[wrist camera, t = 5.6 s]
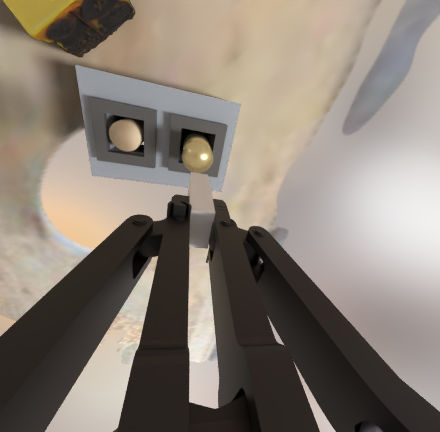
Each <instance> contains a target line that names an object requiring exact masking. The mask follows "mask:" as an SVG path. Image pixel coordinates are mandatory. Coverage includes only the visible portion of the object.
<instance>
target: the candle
mask: <svg viewBox="0 0 440 432" xmlns="http://www.w3.org/2000/svg"><path fill="white" fill-rule="evenodd" d="M3 1H4V3H5V4H6V5H7V7H8V8H9V9H10V11H11V12H12V13H13V15H14V16H15V17H16V18H17V20H18V21H19V22H20V24H21V25H22V26H23V28H24V29H25V30H26V32H27V33H28V34H29V35H30V36H31V37H33V38H35V39H37V40H44V41H46V42H48V43H50V42H54V43H57V44H58V45H60V47H61V48H63V49H64V50H65V51H66V52H68V53H72V54H74V55H76V56H78V57H83V55H84V53H87V52H89V51H90V50H91V49H93V48H96V47H97V45H98V44H99V43H101V42H103V41H104V40H106V38H107V37H108V36H109V35H112V34H113V32H115V31H117V29H118V28H119V27H120V26H121V25H122V24H123V23H124V22H125V21H127V20H129V19H132V18H133V16H134V15H135V10H134V7H133V6H132V4H131V3H130V0H3Z"/></svg>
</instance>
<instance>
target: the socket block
mask: <svg viewBox="0 0 440 432" xmlns="http://www.w3.org/2000/svg"><path fill="white" fill-rule="evenodd" d="M75 68H76V75H77V81H78V87H79V94H80V100H81V107H82V113H83V120H84V126H85V133H86V139H87V146H88V152H89V158H90V165H91V171H92V176H100V177H108V178H115V179H123V180H132V181H139V182H147V183H155V184H163V185H171V186H179V187H187V188H189V182H190V175H191V171H190V170H188V169H187V168H186V167H185V165H184V163H183V160H182V154H183V152H182V151H180V149H181V137H182V128H185V129H190V130H195V131H200V132H205V133H210V138H209V145H210V148H211V150H212V152H213V163H212V165H211V167H210V168H209V169H208V170H207V171H205V172H202V173H201V174H207V175H208V177H209V182H210V188H211V191H218V192H222V188H223V183H224V178H225V174H226V169H227V165H228V160H229V156H230V151H231V147H232V142H233V138H234V133H235V129H236V124H237V120H238V115H239V111H240V106H241V104H239V103H235V102H230V101H226V100H222V99H218V98H213V97H209V96H205V95H201V94H197V93H192V92H188V91H184V90H180V89H176V88H171V87H167V86H163V85H159V84H155V83H150V82H146V81H142V80H138V79H133V78H129V77H125V76H121V75H117V74H112V73H108V72H104V71H100V70H96V69H91V68H87V67H83V66H79V65H75ZM121 116H123V117H128V118H133V119H138V120H143V121H144V145H140V146H139V147H138V148H137V149H135V150H133V151H123V150H120V149H119V148H117V147H116V146H115V145H114V144H113V143H112V141H111V139H110V136H109V129H110V127H111V125H112V124H113V123H114V122H117V121H119V120H121Z"/></svg>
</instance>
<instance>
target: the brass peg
mask: <svg viewBox="0 0 440 432" xmlns="http://www.w3.org/2000/svg"><path fill="white" fill-rule="evenodd" d="M182 160H183V163H184V165H185V167H186V168H187V169H188V170H190V171H191V172H195V173H202V172H205V171H207V170H208V169H209V168H210V167H211V165H212V163H213V152H212V150H211V148H210V145H209V143H208V140H207V138H206V137H205V136H204V135H203V134H201V133H198V132H193V133H190V134H189V135H188V136H187V137H186V138H185V140H184V145H183V154H182Z"/></svg>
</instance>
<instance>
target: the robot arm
mask: <svg viewBox="0 0 440 432" xmlns="http://www.w3.org/2000/svg"><path fill="white" fill-rule="evenodd" d="M208 244H209V251H208V256H207V260H206V263H208V260H209V270H210V281H211V292H212V303H213V313H214V324H215V335H216V346H217V357H218V368H219V390H218V407H219V408H217V409H213V408H209V407H205V406H201V405H197V404H194V403H190V402H189V348H188V291H189V247H196V248H208ZM155 256H158V260H157V265H156V270H155V274H154V279H153V284H152V288H151V293H150V298H149V302H148V307H147V312H146V316H145V321H144V325H143V330H142V335H141V339H140V344H139V347H138V349H137V351H136V353H135V356H134V360H133V364H132V368H131V372H130V377H129V381H128V386H127V391H126V395H125V400H124V404H123V408H122V412H121V417H120V421H119V426H118V428H117V429H116V430H115V431H113V432H320V431H319V428H318V425H317V423H316V420H315V418H314V415H313V412H312V410H311V407H310V404H309V402H308V399H307V396H306V394H305V391H304V388H303V386H302V383H301V380H300V378H299V375H298V372H297V370H296V367H295V365H294V363H295V364H296V366H297V368H298V369H299V371H300V373H301V375H302V377H303V378H304V380H305V382H306V384H307V385H308V387H309V389H310V391H311V392H312V394H313V396H314V398H315V399H316V401H317V403H318V405H319V406H320V408H321V409H322V411H323V413H324V414H325V416H326V417H327V419H328V421H329V422H330V424H331V425H332V427H333V428H334V429H335V431H336V432H440V412H439V411H438V410H437V409H436V408H435V407H433V406H432V405H431V404H430V403H428V402H427V401H426V400H425V399H424V398H423V397H421V396H420V395H419V394H418V393H417V392H415V391H414V390H413V389H412V388H411V387H409V386H408V385H407V384H406V383H405V382H403V381H402V380H401V379H400V378H399V377H398V376H397V375H396V374H395V372H394V371H393V370H392V369H391V368H390V367H389V366H388V365H387V364H386V362H385V361H384V360H383V359H382V358H381V357H380V356H379V355H378V353H377V352H376V351H375V350H374V349H373V348H372V347H371V346H370V345H369V344H368V342H367V341H366V340H365V339H364V338H363V337H362V336H361V335H360V333H359V332H358V331H357V330H356V329H355V328H354V327H353V326H352V325H351V323H350V322H349V321H348V320H347V319H346V318H345V317H344V316H343V315H342V313H341V312H340V311H339V310H338V309H337V308H336V307H335V306H334V305H333V303H331V301H330V300H329V299H328V298H327V297H326V296H325V295H324V293H323V292H322V291H321V290H320V289H319V288H318V287H317V286H316V285H315V283H314V282H313V281H312V280H311V279H310V278H309V277H308V276H307V275H306V274H305V272H304V271H303V270H302V269H301V268H300V267H299V266H298V265H297V263H296V262H295V261H294V260H293V259H292V258H291V257H290V256H289V254H287V252H286V251H285V250H284V249H283V248H282V247H281V246H280V244H279V243H278V242H277V241H276V240H275V239H274V238H273V237H272V236H271V234H270V233H269V232H268V231H267V230H265V229H264V228H262V227H259V226H252V227H250V228H249V230H248V231H246V230H243V229H240V228H238V227H237V225H236V223H235V221H233V220H232V219H230V216H229V212H228V209H227V206H226V203H225V202H224V201H223V200H217V199H213V198H212V193H211V188H210V182H209V177H208V175H207V174H201V173H195V172H191V175H190V182H189V190H188V196H182V195H174V196H173V197H172V200H171V201H170V202H169V203H168V209H167V218H166V219H164V220H161V221H154V222H153V220H152V218H150V217H149V216H146V215H134V216H131V217H129V218H128V219H126V221H124V222H123V223H122V224H121V225H120V226H119V227H118V228H117V229H116V230H115V231H114V232H112V233H111V234H110V236H108V237H107V238H106V239H105V240H104V241H103V242H102V243H101V244H100V245H98V246H97V247H96V248H95V249H94V250H93V251H92V252H91V253H90V254H89V255H88V256H87V257H86V258H84V259H83V260H82V261H81V262H80V263H79V264H78V265H77V266H76V267H75V268H74V269H73V270H72V271H70V272H69V273H68V274H67V275H66V276H65V277H64V278H63V279H62V280H61V281H60V282H59V283H58V284H56V285H55V286H54V287H53V288H52V289H51V290H50V291H49V292H48V293H47V294H46V295H45V296H44V297H42V298H41V299H40V300H39V301H38V302H37V303H36V304H35V305H34V306H33V307H32V308H31V309H30V310H28V311H27V312H26V313H25V314H24V315H23V316H22V317H21V318H20V319H19V320H18V321H17V322H16V323H14V324H13V325H12V326H11V327H10V328H9V329H8V330H7V331H6V332H5V333H4V334H3V335H2V336H0V432H45V430H46V429H47V427H48V425H49V424H50V422H51V421H52V419H53V417H54V416H55V414H56V412H57V411H58V409H59V408H60V406H61V404H62V403H63V401H64V400H65V398H66V396H67V395H68V393H69V391H70V390H71V388H72V386H73V385H74V383H75V382H76V380H77V379H78V377H79V375H80V374H81V372H82V371H83V369H84V367H85V366H86V364H87V363H88V361H89V359H90V358H91V356H92V354H93V353H94V351H95V350H96V348H97V346H98V345H99V343H100V342H101V340H102V338H103V337H104V335H105V334H106V332H107V330H108V329H109V327H110V326H111V324H112V322H113V321H114V319H115V317H116V316H117V314H118V313H119V311H120V309H121V308H122V306H123V305H124V303H125V301H126V300H127V298H128V297H129V295H130V293H131V292H132V290H133V288H134V287H135V285H136V284H137V282H138V280H139V279H140V277H141V276H142V274H143V272H144V271H145V269H146V268H147V266H148V264H149V263H150V261H151V259H152V257H155ZM260 258H261V259H262V260H263V263H261V261H260ZM267 315H268V316H267ZM268 317H269V319H270V321H271V322H272V324H273V326H274V328H275V329H276V331H277V333H278V335H279V336H280V338H281V340H282V342H283V343H284V345H285V346H284V345H282V344H279V343H278V342H277V341H276V339H275V337H274V334H273V331H272V328H271V325H270V322H269V320H268ZM293 361H294V362H293Z"/></svg>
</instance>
